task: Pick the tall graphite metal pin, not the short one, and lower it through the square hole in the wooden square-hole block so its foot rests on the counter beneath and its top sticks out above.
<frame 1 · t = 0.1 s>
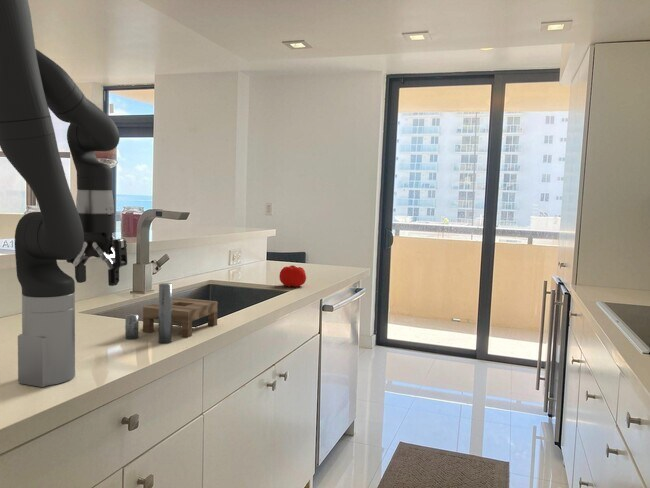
hand: (97, 283, 114), 17 cm above the worktop, tool pointing down, fingers open, 8 cm apart
short pin: (131, 337, 134), on the worktop
tomato: (292, 286, 227), on the worktop
wooden square-hole block: (181, 328, 146), on the worktop
long pin: (164, 341, 131), on the worktop
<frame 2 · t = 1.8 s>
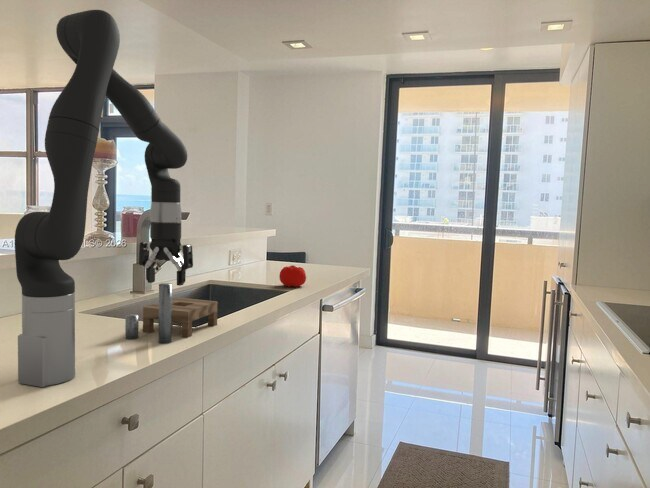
hand: (165, 283, 130), 15 cm above the worktop, tool pointing down, fingers open, 8 cm apart
nothing on the worktop moved.
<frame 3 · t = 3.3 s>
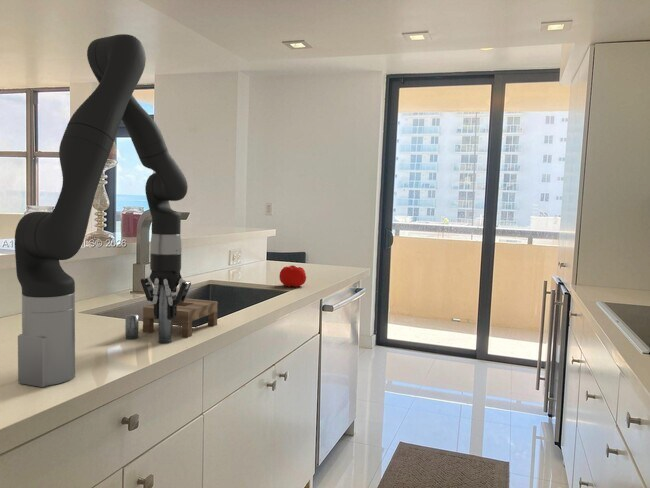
hand: (165, 318, 131), 6 cm above the worktop, tool pointing down, fingers closed on long pin, 3 cm apart
long pin: (164, 341, 131), on the worktop, touching gripper
everything else where it was.
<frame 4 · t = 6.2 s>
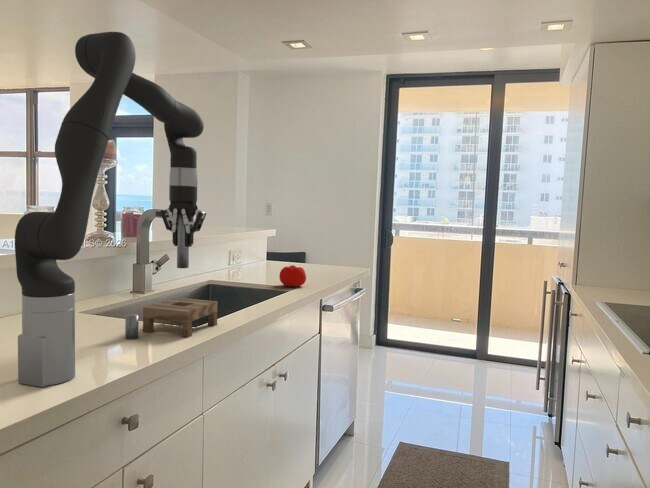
hand: (183, 245, 144), 24 cm above the worktop, tool pointing down, fingers closed on long pin, 3 cm apart
long pin: (182, 267, 144), point 17 cm above the worktop, touching gripper
everything else where it was.
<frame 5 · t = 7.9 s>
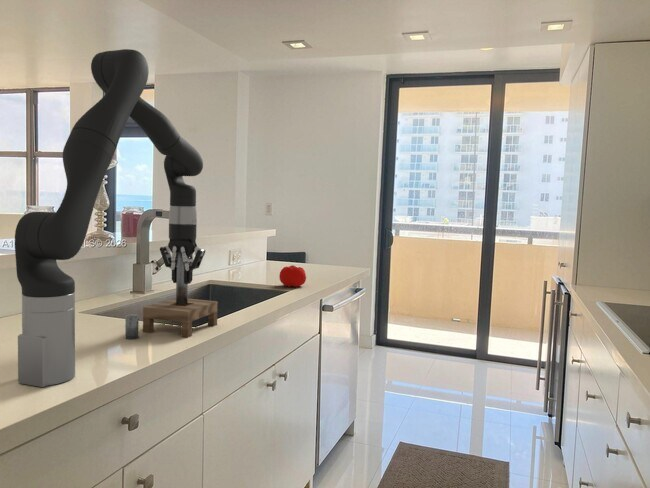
hand: (182, 282, 145), 13 cm above the worktop, tool pointing down, fingers closed on long pin, 3 cm apart
long pin: (181, 304, 145), point 7 cm above the worktop, touching gripper
everything else where it was.
when the fingers open (8 cm above the worktop, at t = 9.3 s): long pin drops 2 cm, on the worktop.
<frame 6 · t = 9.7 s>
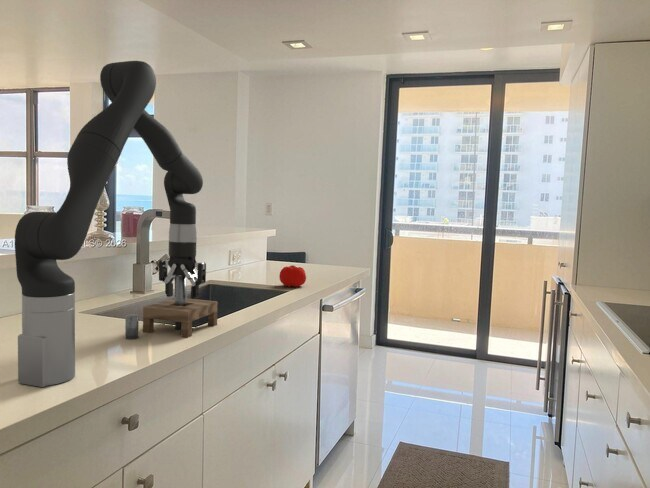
hand: (181, 297, 145), 9 cm above the worktop, tool pointing down, fingers open, 7 cm apart
long pin: (181, 328, 146), on the worktop
everything else where it was.
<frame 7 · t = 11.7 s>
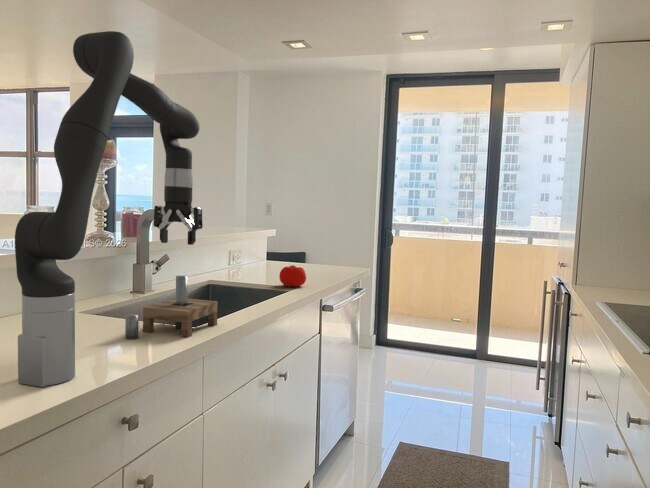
hand: (177, 243, 143), 24 cm above the worktop, tool pointing down, fingers open, 8 cm apart
nothing on the worktop moved.
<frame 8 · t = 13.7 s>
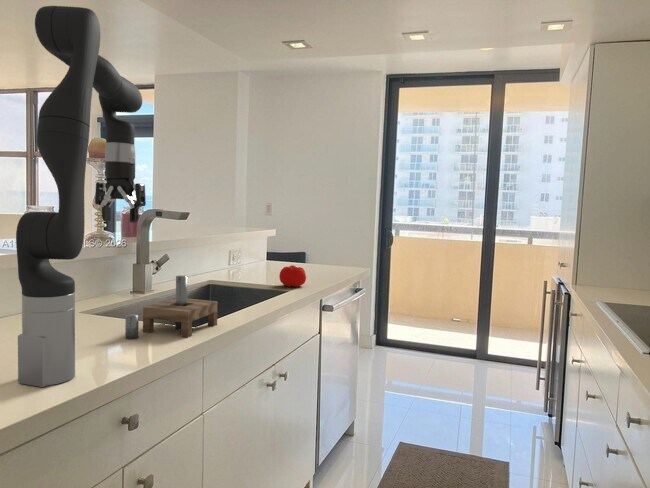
hand: (120, 221, 138), 30 cm above the worktop, tool pointing down, fingers open, 8 cm apart
nothing on the worktop moved.
at the end: long pin 0.1 cm off-centre on the wooden square-hole block, point 0.0 cm above the wooden square-hole block's base; long pin tilted 0°; short pin moved 0.0 cm from its start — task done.
